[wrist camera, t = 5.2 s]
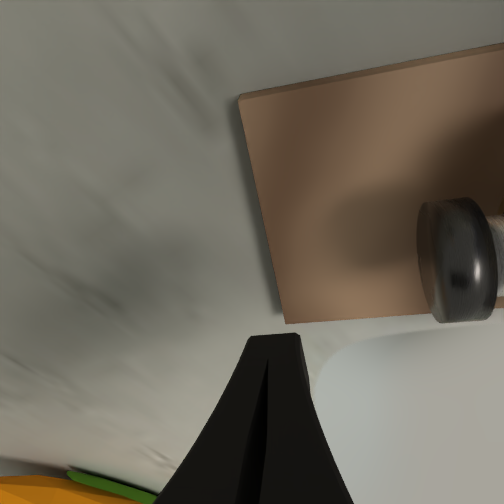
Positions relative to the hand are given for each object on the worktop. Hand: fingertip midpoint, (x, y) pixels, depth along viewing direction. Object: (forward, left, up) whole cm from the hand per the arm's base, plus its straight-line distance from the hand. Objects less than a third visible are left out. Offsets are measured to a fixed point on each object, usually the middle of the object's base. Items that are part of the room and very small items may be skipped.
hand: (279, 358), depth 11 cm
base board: (-7, 0, -8) cm, 11 cm away
